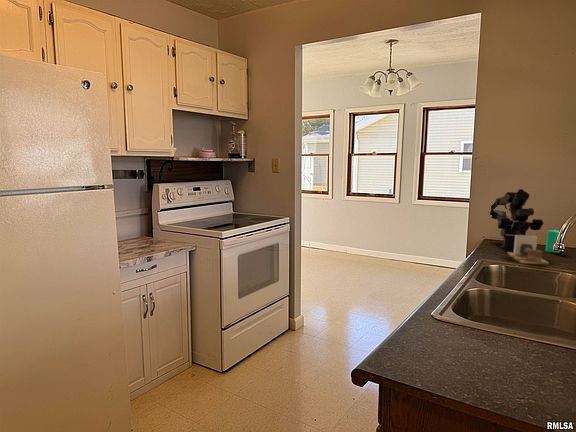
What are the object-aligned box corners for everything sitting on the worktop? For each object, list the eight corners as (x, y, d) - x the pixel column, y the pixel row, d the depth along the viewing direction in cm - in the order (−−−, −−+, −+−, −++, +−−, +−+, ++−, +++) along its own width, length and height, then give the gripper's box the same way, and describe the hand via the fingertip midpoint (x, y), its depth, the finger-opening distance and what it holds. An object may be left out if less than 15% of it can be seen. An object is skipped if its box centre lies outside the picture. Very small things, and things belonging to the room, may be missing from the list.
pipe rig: (507, 253, 192) (508, 242, 191) (532, 255, 190) (533, 243, 189) (521, 263, 174) (522, 250, 173) (548, 264, 172) (550, 251, 171)
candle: (555, 250, 202) (558, 227, 200) (562, 252, 196) (565, 229, 194) (543, 249, 202) (545, 226, 201) (549, 252, 196) (552, 228, 195)
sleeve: (513, 253, 187) (515, 234, 186) (533, 254, 185) (535, 235, 184) (515, 254, 184) (517, 235, 183) (536, 255, 182) (538, 236, 181)
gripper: (501, 201, 192) (507, 227, 182) (543, 202, 188) (552, 229, 179) (495, 215, 200) (500, 240, 191) (535, 216, 197) (542, 242, 187)
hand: (523, 238), depth 187 cm, fingers closed
